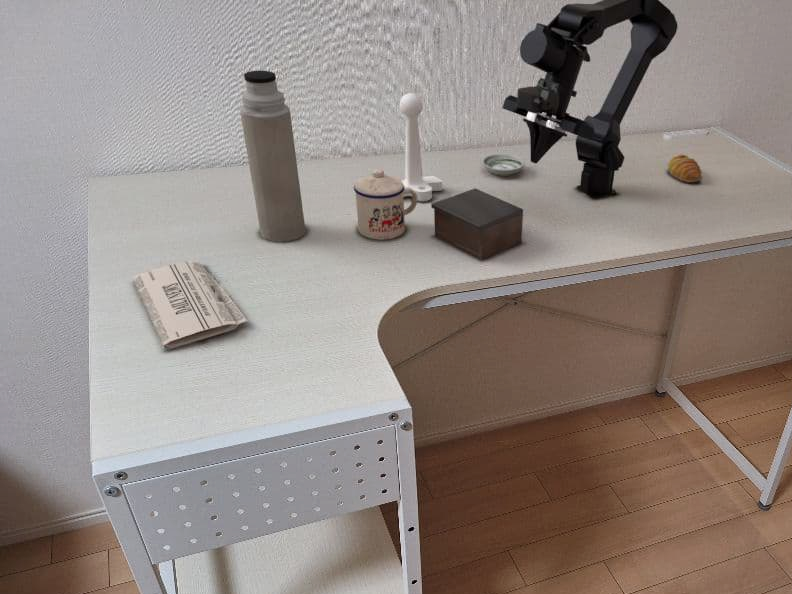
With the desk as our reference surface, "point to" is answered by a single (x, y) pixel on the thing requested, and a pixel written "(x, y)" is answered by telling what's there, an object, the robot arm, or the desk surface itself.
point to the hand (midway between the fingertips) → (533, 162)
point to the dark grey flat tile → (477, 209)
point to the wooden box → (479, 235)
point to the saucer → (503, 164)
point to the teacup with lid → (381, 205)
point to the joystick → (415, 152)
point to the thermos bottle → (272, 158)
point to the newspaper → (186, 303)
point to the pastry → (684, 168)
